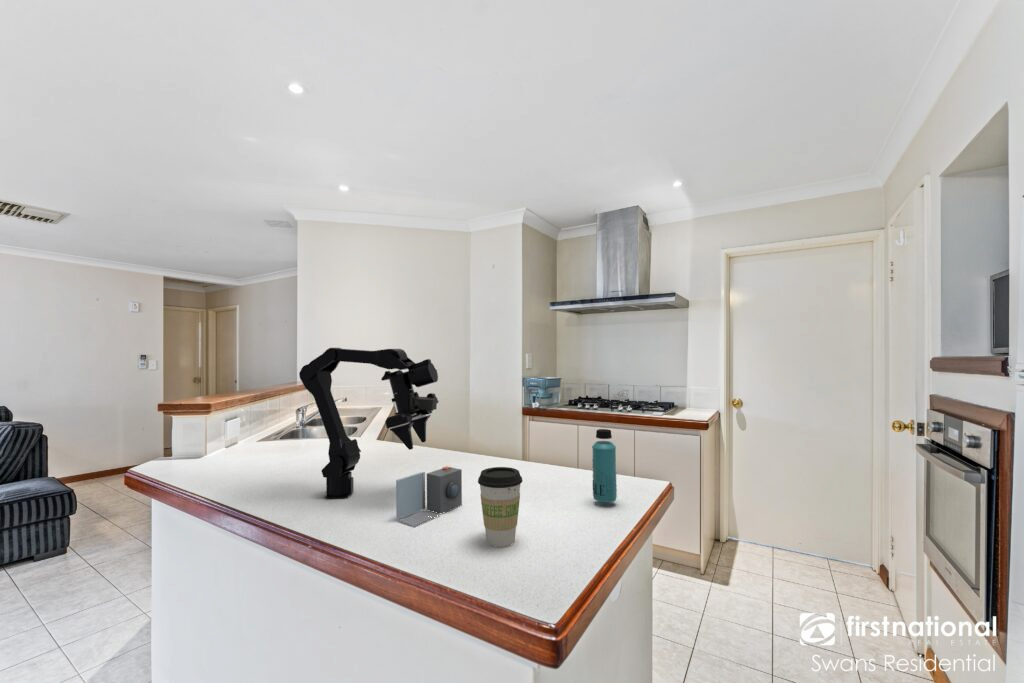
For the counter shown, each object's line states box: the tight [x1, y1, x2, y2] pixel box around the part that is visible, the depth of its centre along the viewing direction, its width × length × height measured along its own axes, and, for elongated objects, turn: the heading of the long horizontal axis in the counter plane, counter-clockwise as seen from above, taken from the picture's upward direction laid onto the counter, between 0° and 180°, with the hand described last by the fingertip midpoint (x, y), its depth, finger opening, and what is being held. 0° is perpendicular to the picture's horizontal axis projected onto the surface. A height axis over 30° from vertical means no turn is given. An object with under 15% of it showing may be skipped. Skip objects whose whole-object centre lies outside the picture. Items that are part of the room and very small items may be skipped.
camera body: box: [398, 465, 463, 528], centre depth 114 cm, size 6×17×10 cm, turn 144°
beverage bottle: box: [591, 428, 618, 503], centre depth 120 cm, size 6×7×20 cm
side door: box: [395, 471, 426, 520], centre depth 113 cm, size 1×9×9 cm, turn 144°
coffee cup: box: [477, 466, 523, 548], centre depth 98 cm, size 10×10×15 cm
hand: (417, 445), depth 125 cm, fingers open, 9 cm apart
